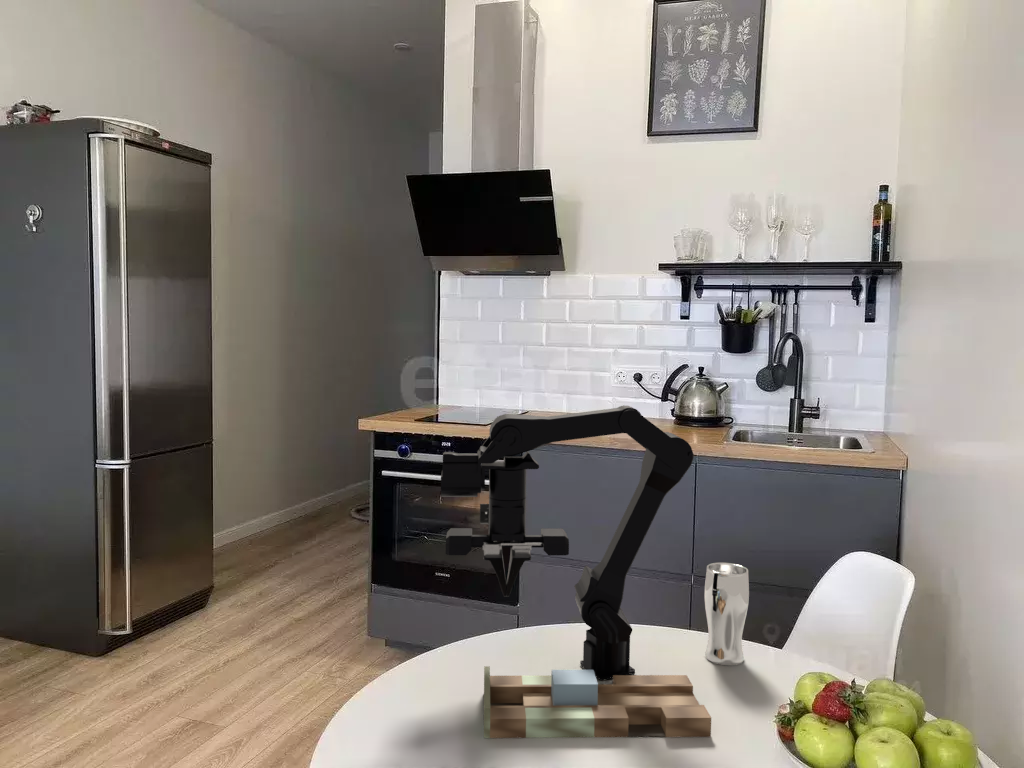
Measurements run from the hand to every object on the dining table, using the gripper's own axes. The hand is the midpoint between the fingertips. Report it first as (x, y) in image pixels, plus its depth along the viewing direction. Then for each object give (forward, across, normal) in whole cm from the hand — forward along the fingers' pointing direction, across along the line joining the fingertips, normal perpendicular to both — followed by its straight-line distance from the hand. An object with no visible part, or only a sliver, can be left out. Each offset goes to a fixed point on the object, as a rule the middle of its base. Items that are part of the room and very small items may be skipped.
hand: (506, 595), depth 119 cm
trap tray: (+12, -12, +14) cm, 22 cm away
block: (+10, -9, +13) cm, 19 cm away
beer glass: (+12, -36, -4) cm, 38 cm away
